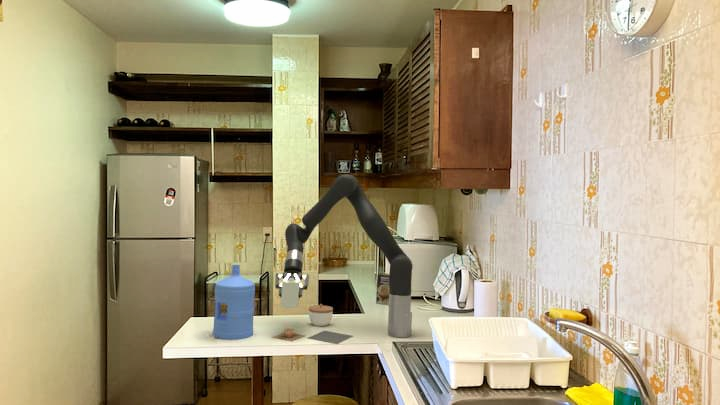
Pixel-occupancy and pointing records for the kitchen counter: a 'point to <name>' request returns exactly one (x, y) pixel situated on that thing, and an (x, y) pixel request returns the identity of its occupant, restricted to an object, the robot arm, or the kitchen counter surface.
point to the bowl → (288, 332)
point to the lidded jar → (320, 315)
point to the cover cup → (290, 293)
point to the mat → (330, 337)
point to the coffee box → (382, 289)
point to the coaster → (283, 337)
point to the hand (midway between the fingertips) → (290, 296)
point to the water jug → (234, 306)
